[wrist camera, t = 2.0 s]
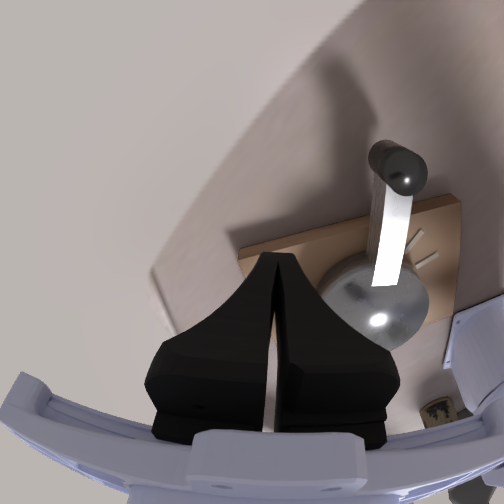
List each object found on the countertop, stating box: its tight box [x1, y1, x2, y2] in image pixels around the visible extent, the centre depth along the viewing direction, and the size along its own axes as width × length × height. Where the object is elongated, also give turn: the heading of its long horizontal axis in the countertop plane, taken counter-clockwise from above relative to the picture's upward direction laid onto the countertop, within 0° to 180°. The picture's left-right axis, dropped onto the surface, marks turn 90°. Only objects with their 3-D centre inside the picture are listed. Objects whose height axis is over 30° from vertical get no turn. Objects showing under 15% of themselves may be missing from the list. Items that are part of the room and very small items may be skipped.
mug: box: [420, 397, 458, 429], centre depth 27 cm, size 8×6×12 cm
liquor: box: [448, 409, 496, 504], centre depth 23 cm, size 9×9×30 cm
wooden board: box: [237, 194, 461, 346], centre depth 20 cm, size 11×16×2 cm
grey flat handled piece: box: [316, 140, 429, 351], centre depth 16 cm, size 15×8×3 cm, turn 5°
